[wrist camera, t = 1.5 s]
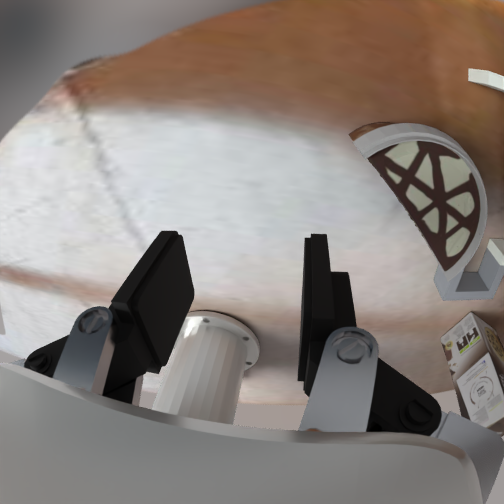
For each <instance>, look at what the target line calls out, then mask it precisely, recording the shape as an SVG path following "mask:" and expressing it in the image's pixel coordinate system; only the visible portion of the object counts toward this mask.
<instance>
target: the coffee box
mask: <svg viewBox="0 0 504 504" xmlns="http://www.w3.org/2000/svg"><path fill="white" fill-rule="evenodd" d="M441 343H442V345H443V349H444V352H445V355H446V358H447V361H448V365H449V369H450V372H451V375H452V379H453V383H454V387H455V390H456V394H457V398H458V402H459V407H460V411H461V416H462V417H464V418H466V419H468V420H470V421H472V422H474V423H477V424H479V425H481V426H483V427H485V428H487V429H490V430H492V431H494V432H496V433H497V434H499V435H500V436H501V437H502V436H503V435H504V348H503V346H502V344H501V341H500V339H499V337H498V335H497V333H496V331H495V330H494V329H493V328H492V327H491V326H489V325H488V324H487V323H485V322H484V321H483V320H481V319H480V318H479V317H477V316H476V315H475V314H473V313H472V312H470V313H469V314H468V315H467V316H465V317H464V318H463V319H462V320H461V321H460V322H459V323H458V324H456V325H455V326H454V327H453V328H452V329H451V330H449V331H448V332H447V333H446V334H445V335H443V336H442V337H441Z"/></svg>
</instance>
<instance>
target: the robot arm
mask: <svg viewBox="0 0 504 504" xmlns="http://www.w3.org/2000/svg"><path fill="white" fill-rule="evenodd" d="M193 299H194V287H193V283H192V278H191V274H190V269H189V265H188V260H187V255H186V250H185V246H184V241H183V237H182V235H179V234H178V232H177V231H161V232H160V233H159V235H158V236H157V237H156V239H155V240H154V241H153V243H152V244H151V245H150V247H149V248H148V249H147V251H146V252H145V253H144V255H143V256H142V258H141V259H140V260H139V262H138V263H137V265H136V266H135V267H134V269H133V270H132V272H131V273H130V274H129V276H128V277H127V279H126V280H125V282H124V283H123V284H122V286H121V287H120V289H119V290H118V292H117V293H116V295H115V296H114V298H113V299H112V301H111V302H112V304H111V305H110V307H109V308H106V307H102V306H97V307H92V308H90V309H87V310H86V311H84V312H82V313H81V314H80V315H79V316H78V318H77V319H76V321H75V323H74V325H73V327H72V330H71V332H70V334H69V335H67V336H65V337H63V338H61V339H59V340H57V341H54V342H52V343H50V344H48V345H46V346H44V347H41V348H39V349H37V350H35V351H34V352H32V353H31V354H30V355H29V356H28V358H27V359H21V360H18V361H15V362H11V363H0V504H485V503H486V501H487V499H488V496H489V494H490V492H491V490H492V487H493V485H494V482H495V480H496V477H497V475H498V472H499V469H500V466H501V464H502V461H503V458H504V441H503V439H502V438H501V436H500V435H499V434H497V433H496V432H494V431H492V430H490V429H487V428H485V427H483V426H481V425H479V424H477V423H474V422H472V421H470V420H468V419H466V418H464V417H462V416H460V415H457V414H455V413H453V412H451V411H450V412H449V413H448V414H447V413H445V412H443V411H441V407H440V405H439V404H438V402H437V401H436V400H435V399H434V398H433V397H432V396H431V395H430V394H428V393H427V392H426V391H424V390H423V389H421V388H420V387H419V386H417V385H416V384H414V383H413V382H412V381H410V380H409V379H407V378H406V377H405V376H403V375H402V374H400V373H399V372H398V371H396V370H395V369H393V368H392V367H391V366H389V365H388V364H387V363H385V362H384V361H382V360H381V359H380V358H378V352H379V350H378V343H377V341H376V339H375V338H374V337H373V336H372V335H371V334H370V333H369V332H367V331H365V330H364V329H361V328H357V326H356V318H355V311H354V304H353V298H352V291H351V285H350V279H349V274H348V272H331V269H330V259H329V250H328V241H327V234H311V238H305V244H304V267H303V287H302V305H301V329H300V348H299V365H298V381H304V388H303V390H304V391H305V394H306V395H307V396H309V400H308V403H307V406H306V409H305V412H304V415H303V418H302V421H301V424H300V427H299V430H298V431H296V430H279V429H266V428H256V427H247V426H239V425H233V422H234V417H235V413H236V408H237V403H238V398H239V393H240V389H241V384H242V379H243V374H244V371H245V370H247V369H249V368H251V367H252V366H253V365H254V364H255V363H256V362H257V360H258V358H259V352H260V345H259V342H258V339H257V338H256V336H255V335H254V333H253V332H252V331H251V330H250V329H249V328H248V327H247V326H245V325H244V324H242V323H241V322H239V321H237V320H236V319H234V318H232V317H229V316H226V315H224V314H220V313H216V312H209V311H195V312H189V313H188V311H189V309H190V307H191V304H192V302H193ZM173 347H174V349H175V350H174V352H173V355H172V357H171V360H170V362H169V365H168V367H167V370H166V373H165V375H164V378H163V380H162V383H161V385H160V388H159V390H158V393H157V396H156V398H155V401H154V403H153V406H152V409H147V408H143V407H139V402H140V396H141V390H142V384H143V375H144V374H146V372H151V373H156V374H159V372H160V370H161V367H162V366H166V364H167V362H168V360H169V357H170V355H171V352H172V350H173Z"/></svg>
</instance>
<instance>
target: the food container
mask: <svg viewBox="0 0 504 504" xmlns="http://www.w3.org/2000/svg"><path fill="white" fill-rule="evenodd" d="M349 136H350V137H351V139H352V140H353V142H352V143H353V144H354V145H355V147H356V148H357V149H358V151H359V152H360V153H361V154H362V156H363V157H364V159H368V160H369V162H370V163H371V164H372V165H373V166H374V167H375V169H376V170H377V171H378V172H379V174H380V176H381V177H382V178H383V179H384V180H385V182H386V183H387V184H388V186H389V187H390V188H391V190H392V191H393V192H394V194H395V195H396V197H397V198H398V200H399V202H400V203H401V204H402V205H403V206H404V208H405V210H406V211H407V212H408V214H409V216H410V218H411V220H413V221H414V223H415V226H416V227H417V228H418V229H419V231H420V233H421V234H422V236H423V238H424V239H425V241H426V243H427V244H428V246H429V248H430V250H431V251H432V253H433V255H434V257H435V258H436V260H437V262H438V264H439V266H440V268H441V270H442V271H443V273H444V275H445V277H446V279H447V281H450V280H451V279H452V278H454V277H455V276H456V275H457V274H458V273H459V272H460V271H461V270H462V269H463V268H464V267H465V266H466V265H467V264H468V263H469V261H470V260H471V259H472V257H473V256H474V254H475V252H476V251H477V249H478V247H479V245H480V242H481V240H482V238H483V235H484V231H485V227H486V222H487V214H488V212H487V197H486V192H485V188H484V184H483V181H482V178H481V176H480V173H479V171H478V169H477V168H476V166H475V164H474V162H473V161H472V160H471V158H470V157H469V155H468V154H467V153H466V152H465V150H464V149H463V148H462V147H461V146H460V145H459V144H458V143H457V142H456V141H455V140H454V139H452V138H451V137H450V136H448V135H447V134H445V133H443V132H441V131H439V130H437V129H435V128H433V127H429V126H426V125H422V124H414V123H400V124H393V123H388V122H378V123H371V124H367V125H364V126H362V127H360V128H358V129H356V130H354V131H353V132H352V133H350V134H349Z"/></svg>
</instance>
